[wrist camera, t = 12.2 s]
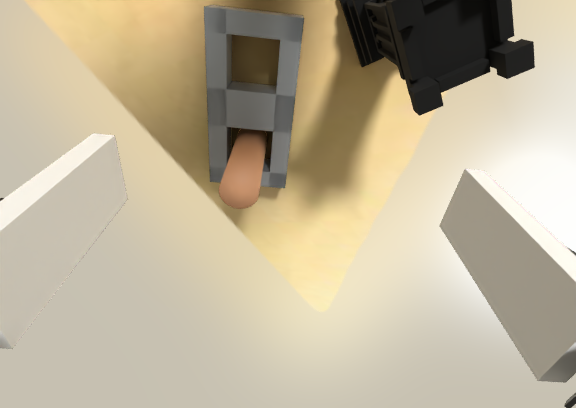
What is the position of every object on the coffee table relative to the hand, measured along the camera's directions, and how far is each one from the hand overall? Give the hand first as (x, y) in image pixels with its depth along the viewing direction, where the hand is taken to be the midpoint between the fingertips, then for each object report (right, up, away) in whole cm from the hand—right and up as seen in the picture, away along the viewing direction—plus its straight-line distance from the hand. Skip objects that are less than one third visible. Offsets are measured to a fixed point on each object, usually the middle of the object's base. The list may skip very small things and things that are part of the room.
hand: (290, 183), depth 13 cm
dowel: (-5, +8, +31) cm, 33 cm away
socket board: (-5, +12, +29) cm, 32 cm away
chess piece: (+11, +20, +24) cm, 33 cm away
